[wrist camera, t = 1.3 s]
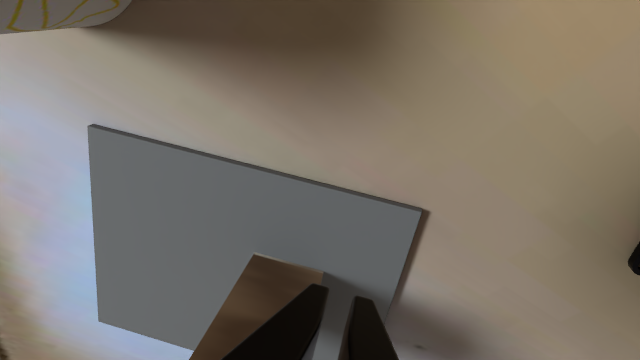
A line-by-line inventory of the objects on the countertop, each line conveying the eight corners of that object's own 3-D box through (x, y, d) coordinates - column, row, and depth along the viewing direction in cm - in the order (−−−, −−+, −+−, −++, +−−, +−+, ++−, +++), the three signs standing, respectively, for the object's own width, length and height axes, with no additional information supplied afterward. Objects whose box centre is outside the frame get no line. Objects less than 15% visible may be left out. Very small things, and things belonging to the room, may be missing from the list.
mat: (421, 208, 21) (421, 212, 20) (358, 396, 27) (357, 401, 26) (92, 124, 23) (87, 126, 22) (102, 317, 29) (98, 321, 28)
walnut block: (323, 271, 23) (276, 420, 15) (311, 325, 25) (262, 485, 17) (254, 252, 23) (172, 386, 15) (247, 306, 25) (169, 453, 17)
